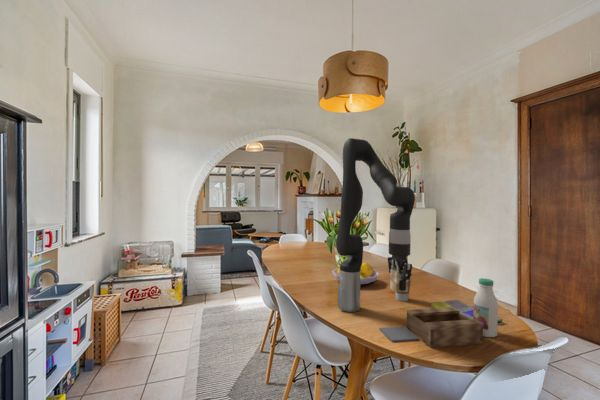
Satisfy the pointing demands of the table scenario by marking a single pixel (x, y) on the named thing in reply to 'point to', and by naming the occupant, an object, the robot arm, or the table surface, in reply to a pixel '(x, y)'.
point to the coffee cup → (403, 293)
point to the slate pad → (398, 334)
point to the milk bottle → (486, 308)
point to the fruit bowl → (366, 274)
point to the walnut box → (444, 327)
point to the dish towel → (459, 308)
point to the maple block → (396, 281)
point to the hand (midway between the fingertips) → (398, 288)
